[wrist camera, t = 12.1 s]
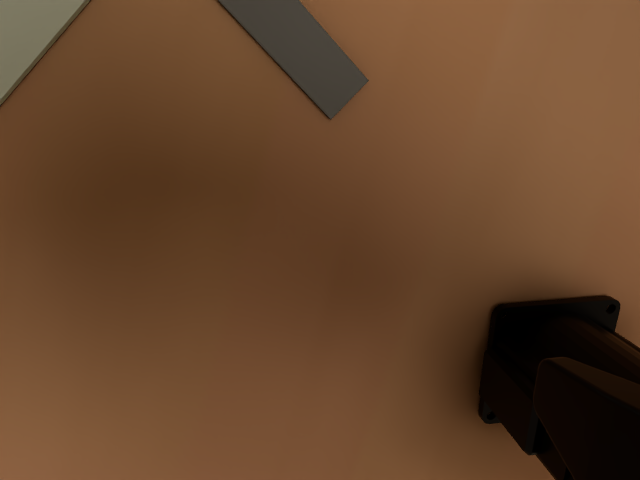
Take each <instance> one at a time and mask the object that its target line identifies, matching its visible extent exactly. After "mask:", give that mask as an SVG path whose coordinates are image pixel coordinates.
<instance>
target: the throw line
mask: <svg viewBox="0 0 640 480" xmlns="http://www.w3.org/2000/svg"><path fill="white" fill-rule="evenodd" d="M218 1H219V2H220V3H221V4H222V5H223V6H224V8H225V9H226V10H227V11H228V12H229V13H230V14H231V15H232V16H233V17H234V18H235V19H236V20H237V21H238V22H239V23H240V24H241V26H242V27H243V28H244V29H245V30H246V31H247V32H248V33H249V34H250V35H251V36H252V37H253V38H254V39H255V40H256V41H257V42H258V44H259V45H260V46H261V47H262V48H263V49H264V50H265V51H266V52H267V53H268V54H269V55H270V56H271V57H272V58H273V59H274V60H275V62H276V63H277V64H278V65H279V66H280V67H281V68H282V69H283V70H284V71H285V72H286V73H287V74H288V75H289V76H290V77H291V78H292V80H293V81H294V82H295V83H296V84H297V85H298V86H299V87H300V88H301V89H302V90H303V91H304V92H305V93H306V94H307V95H308V96H309V98H310V99H311V100H312V101H313V102H314V103H315V104H316V105H317V106H318V107H319V108H320V109H321V110H322V111H323V112H324V113H325V115H326V116H327V117H328V118H329V119H332V118H333V117H334V116H335V115H336V114H337V113H338V112H339V111H340V110H341V109H342V108H343V107H344V106H345V105H346V104H347V103H348V101H349V100H350V99H351V98H352V97H353V96H354V95H355V94H356V93H357V92H358V91H359V90H360V89H361V88H362V87H363V86H364V85H365V84H366V83H367V82H368V81H369V80H368V79H367V78H366V77H365V76H364V75H363V74H362V72H361V71H360V70H359V69H358V68H357V67H356V66H355V64H354V63H353V62H352V61H351V60H350V59H349V58H348V56H347V55H346V54H345V53H344V52H343V51H342V49H341V48H340V47H339V46H338V45H337V44H336V43H335V41H334V40H333V39H332V38H331V37H330V36H329V35H328V33H327V32H326V31H325V30H324V29H323V28H322V27H321V25H320V24H319V23H318V22H317V21H316V20H315V19H314V17H313V16H312V15H311V14H310V13H309V12H308V11H307V9H306V8H305V7H304V6H303V5H302V4H301V2H300V1H299V0H218Z"/></svg>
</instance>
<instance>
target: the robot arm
mask: <svg viewBox="0 0 640 480" xmlns="http://www.w3.org/2000/svg"><path fill="white" fill-rule="evenodd" d="M608 306H609V307H608ZM607 307H608V308H607ZM619 311H620V303H619V302H618V301H617V300H616V299H614V298H612V297H610V296H601V297H588V298H574V299H561V300H547V301H534V302H520V303H507V304H500V305H498V306H497V307H495V308H494V310H493V312H492V316H491V323H490V330H489V338H488V345H487V349H486V350H485V353H484V360H483V368H482V375H481V382H480V390H479V394H480V403H479V410H478V414H479V416H480V417H481V419H482V420H483V421H484V422H485V423H486V424H493V423H502V424H503V425H504V427H505V428H506V429H507V431H508V432H509V433H510V434H511V436H512V437H513V438H514V440H515V441H516V442H517V443H518V445H519V446H520V447H521V449H522V450H523V451H524V452H525V453H527V454H528V455H536V456H537V457H538V459H539V460H540V461H541V462H542V464H543V465H544V466H545V467H546V469H547V470H548V471H549V472H550V474H551V475H552V476H553V477H554V478H555V480H640V348H639V347H637V346H636V345H634V344H633V343H631V342H630V341H628V340H627V339H625V338H624V337H622V336H621V335H619V334H618V333H616V332H615V328H616V324H617V320H618V315H619ZM506 312H507V313H506ZM504 313H506V316H504V317H503V318H501V316H502V315H503V314H504ZM489 412H491V413H490V414H488V413H489Z"/></svg>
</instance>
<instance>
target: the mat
mask: <svg viewBox="0 0 640 480" xmlns="http://www.w3.org/2000/svg"><path fill="white" fill-rule="evenodd" d="M89 1H90V0H0V105H1V104H2V103H3V102H4V101H5V100H6V98H7V97H8V96H9V95H10V94H11V93H12V91H13V90H14V89H15V88H16V87H17V86H18V84H19V83H20V82H21V81H22V80H23V79H24V77H25V76H26V75H27V74H28V73H29V72H30V70H31V69H32V68H33V67H34V66H35V65H36V63H37V62H38V61H39V60H40V59H41V58H42V56H43V55H44V54H45V53H46V52H47V50H48V49H49V48H50V47H51V46H52V45H53V43H54V42H55V41H56V40H57V39H58V38H59V36H60V35H61V34H62V33H63V32H64V31H65V29H66V28H67V27H68V26H69V25H70V24H71V22H72V21H73V20H74V19H75V18H76V17H77V15H78V14H79V13H80V12H81V11H82V10H83V8H84V7H85V6H86V5H87V4H88V3H89Z"/></svg>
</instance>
